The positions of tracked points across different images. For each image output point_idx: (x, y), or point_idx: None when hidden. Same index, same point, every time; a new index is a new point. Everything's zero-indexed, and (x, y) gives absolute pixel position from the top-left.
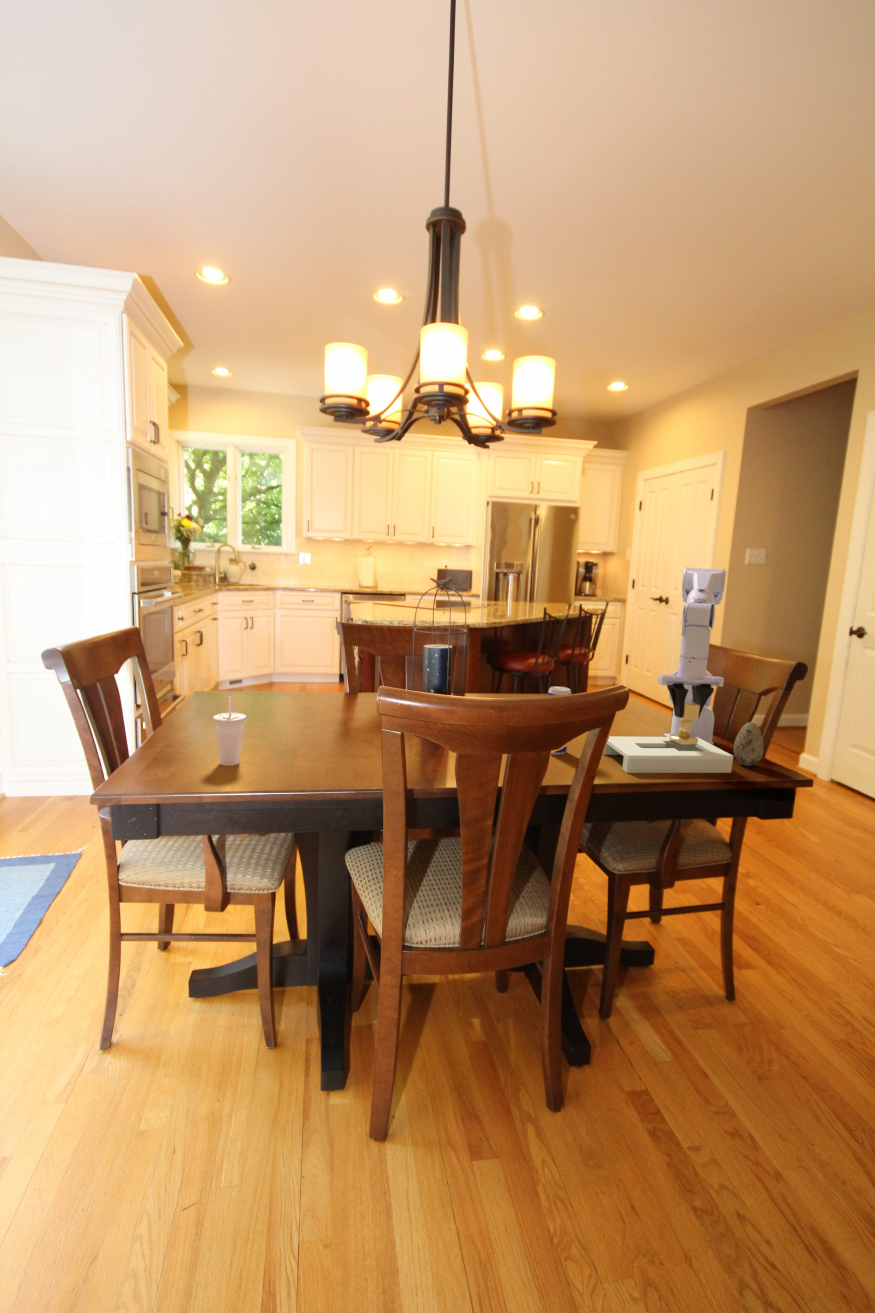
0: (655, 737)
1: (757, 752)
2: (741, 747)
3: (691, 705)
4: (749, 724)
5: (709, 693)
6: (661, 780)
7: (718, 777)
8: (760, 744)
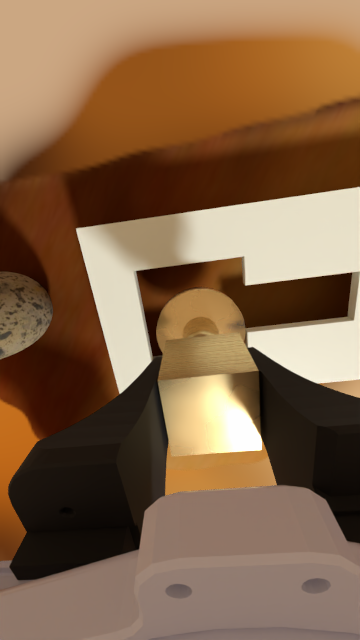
0: None
1: None
2: (25, 294)
3: (214, 374)
4: None
5: (77, 432)
6: (338, 123)
7: (147, 181)
8: None
